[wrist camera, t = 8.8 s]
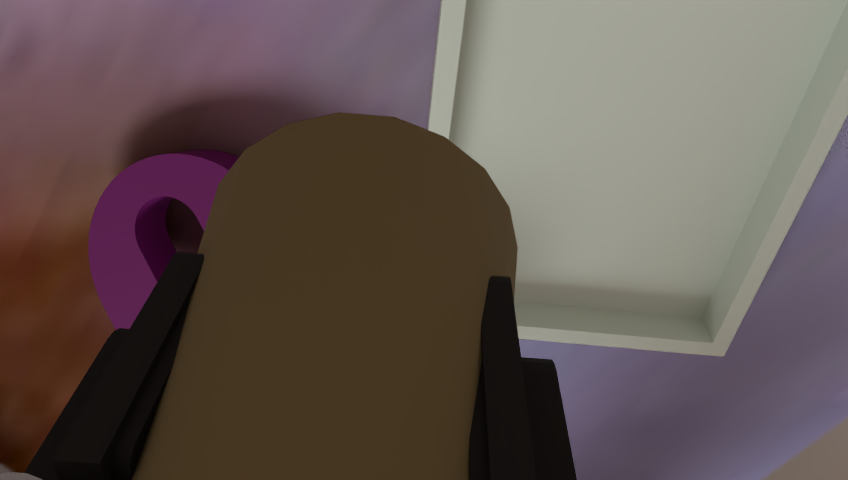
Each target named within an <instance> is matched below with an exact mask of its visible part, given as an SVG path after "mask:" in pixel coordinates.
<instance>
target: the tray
mask: <svg viewBox="0 0 848 480" xmlns="http://www.w3.org/2000/svg"><path fill="white" fill-rule="evenodd" d="M847 115H848V0H440V10H439V19H438V29H437V38H436V48H435V57H434V67H433V77H432V86H431V96H430V105H429V115H428V124H427V130H429V131H431V132H434V133H437V134H439V135H442V136H444V137H446V138H447V139H448V140H450V141H451V142H452V143H454V144H455V145H456V146H457V147H459V148H460V149H461V150H462V151H464V152H465V153H466V154H467V155H469V156H470V157H471V158H472V159H474V160H475V161H476V162H477V163H479V164H480V165H481V166H482V167H484V168H485V169H486V171H487V173H488V174H489V176H490V177H491V179H492V180H493V182H494V184H495V185H496V187H497V188H498V190H499V191H500V193H501V195H502V196H503V198H504V199H505V201H506V202H507V204H508V206H509V207H510V212H511V217H512V222H513V227H514V232H515V237H516V242H517V247H518V251H517V265H516V279H515V293H514V307H515V315H516V323H517V330H518V338H519V339H527V340H539V341H550V342H561V343H573V344H584V345H595V346H607V347H618V348H629V349H641V350H652V351H663V352H675V353H686V354H697V355H709V356H720V357H724V355H725V353H726V351H727V349H728V347H729V345H730V344H731V342H732V340H733V338H734V336H735V334H736V332H737V330H738V328H739V326H740V324H741V322H742V320H743V318H744V316H745V314H746V312H747V310H748V308H749V306H750V305H751V303H752V301H753V299H754V297H755V295H756V293H757V291H758V289H759V287H760V285H761V283H762V281H763V279H764V277H765V275H766V273H767V271H768V269H769V267H770V266H771V264H772V262H773V260H774V258H775V256H776V254H777V252H778V250H779V248H780V246H781V244H782V242H783V240H784V238H785V236H786V234H787V232H788V230H789V228H790V227H791V225H792V223H793V221H794V219H795V217H796V215H797V213H798V211H799V209H800V207H801V205H802V203H803V201H804V199H805V197H806V195H807V193H808V191H809V189H810V188H811V186H812V184H813V182H814V180H815V178H816V176H817V174H818V172H819V170H820V168H821V166H822V164H823V162H824V160H825V158H826V156H827V154H828V152H829V150H830V149H831V147H832V145H833V143H834V141H835V139H836V137H837V135H838V133H839V131H840V129H841V127H842V125H843V123H844V121H845V119H846V117H847Z"/></svg>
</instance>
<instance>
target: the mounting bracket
mask: <svg viewBox="0 0 848 480" xmlns="http://www.w3.org/2000/svg"><path fill="white" fill-rule="evenodd" d="M238 158H239V157H238V156H235V155H232V154H229V153H225V152H221V151H215V150H192V151H184V152H177V153H169V154H162V155H156V156H152V157H148V158H145V159H143V160H140V161H138V162H136V163H134V164H132V165H131V166H129V167H127V168H126V169H125V170H123V171H122V172H121V173H119V174H118V175H117V176H116V177H115V178H114V179H113V180H112V181H111V183H110V184H109V185H108V187H107V188H106V189H105V191H104V192H103V194H102V196H101V197H100V199H99V201H98V204H97V206H96V208H95V211H94V214H93V217H92V221H91V226H90V232H89V262H90V268H91V273H92V278H93V281H94V285H95V288H96V290H97V293H98V296H99V298H100V300H101V302H102V304H103V306H104V308H105V310H106V312H107V314H108V316H109V318H110V319H111V321H112V323H113V325H114V327H115V329H116V330H117V329H119V328H125V329H130V327H131V326H132V324H133V322H134V321H135V319H136V317H137V316H138V314H139V312H140V310H141V309H142V307H143V305H144V304H145V302H146V300H147V299H148V297H149V295H150V294H151V292H152V290H153V289H154V287H155V285H156V284H157V282H158V280H159V279H160V277H161V275H162V273H163V272H164V270H165V268H166V267H167V265H168V263H169V262H170V260H171V258H172V257H173V256H174V254H175V253H177V251H176V249H175V248H174V246H173V244H172V242H171V240H170V238H169V236H168V233H167V229H166V223H165V217H166V211H167V208H168V205H169V203H170V202H171V200H172V199H173V198H175V199H178V200H180V201H181V202H183V203H184V204H186V205H187V206H188V207H189V208H190V209H191V210H192V211H193V213H194V214H195V216H196V217H197V219H198V221H199V223H200V225H201V227H202V229H203V231H204V230H205V227H206V224H207V220H208V217H209V214H210V210H211V207H212V204H213V201H214V197H215V194H216V191H217V188H218V184H219V183H220V182H221V181H222V179H223V178H224V177H225V175H226V174H227V173H228V171H229V170H230V169H231V167H232V166H233V165H234V163H235V162H236V161H237V160H238Z"/></svg>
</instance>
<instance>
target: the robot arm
mask: <svg viewBox="0 0 848 480" xmlns="http://www.w3.org/2000/svg"><path fill="white" fill-rule="evenodd" d="M203 261H204V254H198V253H185V252H177V253H175V254H174V256H173V257H172V258H171V260H170V262H169V263H168V265H167V267H166V268H165V270H164V272H163V273H162V275H161V277H160V279H159V280H158V282H157V284H156V285H155V287H154V289H153V290H152V292H151V294H150V295H149V297H148V299H147V300H146V302H145V304H144V305H143V307H142V309H141V310H140V312H139V314H138V316H137V317H136V319H135V321H134V322H133V324H132V326H131V327H130V329H125V328H119V329H117V330H115V331H114V332H113V333H112V334H111V335H110V337H109V338H108V339H107V341H106V342H105V344H104V346H103V347H102V349H101V350H100V352H99V354H98V355H97V357H96V358H95V360H94V362H93V363H92V365H91V366H90V368H89V370H88V371H87V373H86V375H85V376H84V378H83V379H82V381H81V383H80V384H79V386H78V387H77V389H76V391H75V392H74V394H73V395H72V397H71V399H70V400H69V402H68V403H67V405H66V407H65V408H64V410H63V411H62V413H61V415H60V416H59V418H58V419H57V421H56V423H55V424H54V426H53V427H52V429H51V431H50V432H49V434H48V435H47V437H46V439H45V440H44V442H43V443H42V445H41V447H40V448H39V450H38V451H37V453H36V455H35V456H34V458H33V459H32V461H31V463H30V464H29V466H28V468H27V469H26V471H25V472H24V473H11V472H9V473H4V474H0V480H132V477H133V475H134V472H135V469H136V466H137V463H138V461H139V458H140V455H141V452H142V450H143V447H144V444H145V441H146V439H147V436H148V433H149V430H150V427H151V425H152V422H153V419H154V416H155V414H156V411H157V408H158V405H159V402H160V400H161V397H162V394H163V391H164V389H165V386H166V383H167V380H168V377H169V375H170V372H171V369H172V366H173V364H174V360H175V356H176V352H177V348H178V345H179V341H180V337H181V333H182V329H183V325H184V321H185V318H186V314H187V310H188V306H189V302H190V298H191V294H192V292H193V290H194V287H195V284H196V282H197V279H198V276H199V274H200V271H201V268H202V265H203ZM481 342H482V363H481V369H480V375H479V381H478V387H477V394H476V400H475V406H474V412H473V419H472V425H471V431H470V437H469V480H577V479H576V474H575V468H574V463H573V457H572V452H571V447H570V441H569V436H568V431H567V425H566V420H565V415H564V409H563V404H562V398H561V393H560V388H559V382H558V377H557V372H556V368H555V364H554V362H553V361H552V360H550V359H537V358H523V357H521V354H520V346H519V338H518V330H517V323H516V315H515V307H514V299H513V291H512V284H511V278H510V277H506V276H491V277H490V279H489V282H488V288H487V293H486V299H485V305H484V311H483V316H482V322H481Z"/></svg>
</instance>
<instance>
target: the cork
mask: <svg viewBox="0 0 848 480" xmlns="http://www.w3.org/2000/svg"><path fill="white" fill-rule="evenodd" d="M517 251H518V247H517V242H516V237H515V232H514V227H513V222H512V217H511V212H510V207H509V206H508V204H507V202H506V201H505V199H504V198H503V196H502V195H501V193H500V191H499V190H498V188H497V187H496V185H495V184H494V182H493V180H492V179H491V177H490V176H489V174H488V173H487V171H486V169H485V168H484V167H482V166H481V165H480V164H479V163H477V162H476V161H475V160H474V159H472V158H471V157H470V156H469V155H467V154H466V153H465V152H464V151H462V150H461V149H460V148H459V147H457V146H456V145H455V144H454V143H452V142H451V141H450V140H448V139H447V138H446V137H444V136H442V135H439V134H437V133H434V132H431V131H429V130H426V129H424V128H421V127H419V126H416V125H413V124H411V123H408V122H406V121H403V120H401V119H398V118H395V117H388V116H376V115H363V114H351V113H334V114H330V115H325V116H321V117H316V118H312V119H308V120H303V121H299V122H294V123H290V124H286V125H285V126H283V127H281V128H280V129H278V130H276V131H275V132H273V133H271V134H270V135H268V136H266V137H265V138H263V139H262V140H260V141H258V142H257V143H255V144H253V145H252V146H250V147H248V148H247V149H245V150H244V152H243V153H242V154H241V156H240V157H239V158H238V160H237V161H236V162H235V163H234V165H233V166H232V167H231V169H230V170H229V171H228V173H227V174H226V175H225V177H224V178H223V179H222V181H221V182H220V183H219V184H218V188H217V191H216V194H215V197H214V201H213V204H212V207H211V210H210V214H209V217H208V220H207V224H206V227H205V230H204V233H203V237H202V240H201V243H200V246H199V250H198V254H204V261H203V265H202V268H201V271H200V274H199V276H198V279H197V282H196V284H195V287H194V290H193V292H192V294H191V298H190V302H189V306H188V310H187V314H186V318H185V321H184V325H183V329H182V333H181V337H180V341H179V345H178V348H177V352H176V356H175V360H174V364H173V366H172V369H171V372H170V375H169V377H168V380H167V383H166V386H165V389H164V391H163V394H162V397H161V400H160V402H159V405H158V408H157V411H156V414H155V416H154V419H153V422H152V425H151V427H150V430H149V433H148V436H147V439H146V441H145V444H144V447H143V450H142V452H141V455H140V458H139V461H138V463H137V466H136V469H135V472H134V475H133V477H132V480H469V437H470V431H471V425H472V419H473V412H474V406H475V400H476V394H477V387H478V381H479V375H480V369H481V363H482V342H481V322H482V316H483V311H484V305H485V299H486V293H487V288H488V282H489V279H490V277H491V276H506V277H510V278H511V284H512V291H513V299H514V293H515V279H516V265H517Z"/></svg>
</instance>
